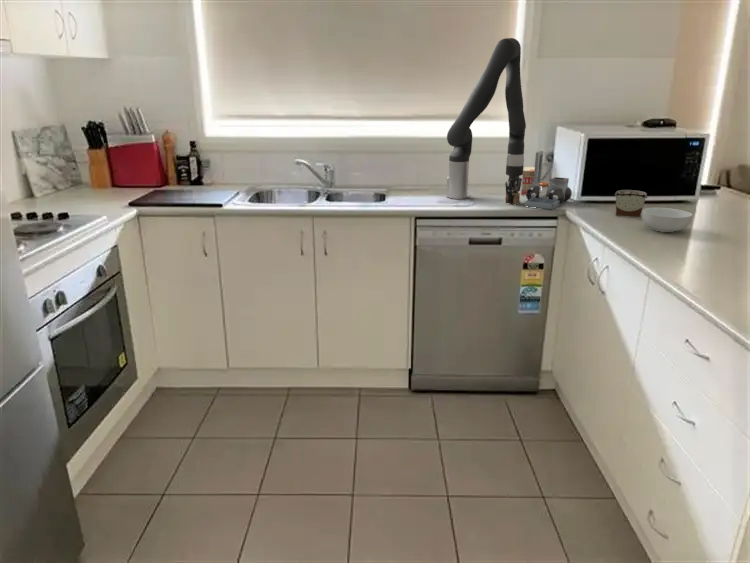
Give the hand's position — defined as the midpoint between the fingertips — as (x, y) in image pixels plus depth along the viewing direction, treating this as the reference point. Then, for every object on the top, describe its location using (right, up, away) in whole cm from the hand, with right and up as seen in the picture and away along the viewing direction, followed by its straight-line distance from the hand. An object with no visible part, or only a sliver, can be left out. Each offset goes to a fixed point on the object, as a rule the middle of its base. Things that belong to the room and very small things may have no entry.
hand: (512, 202), depth 263 cm
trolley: (+17, 0, +2) cm, 17 cm away
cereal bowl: (+46, -17, -47) cm, 68 cm away
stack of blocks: (+14, +8, +25) cm, 30 cm away
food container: (+42, -9, -24) cm, 49 cm away
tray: (+11, -3, -7) cm, 14 cm away
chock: (0, 0, 0) cm, 1 cm away
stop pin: (+11, -2, -7) cm, 14 cm away
